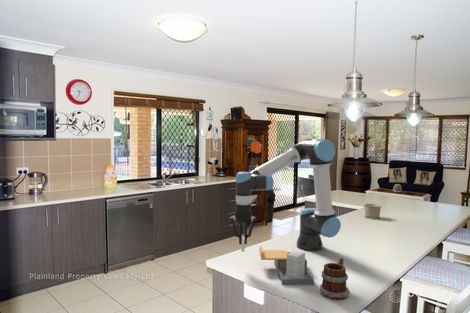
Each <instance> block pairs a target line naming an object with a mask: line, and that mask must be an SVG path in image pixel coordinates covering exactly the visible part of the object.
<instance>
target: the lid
mask: <svg viewBox="0 0 470 313" xmlns="http://www.w3.org/2000/svg"><path fill="white" fill-rule="evenodd" d="M287 252H288V251H287V250H286V249H263V246H262V245H261V246H259V249H258V253H259V257H260V260H261V261H274V260H287V254H288V253H287Z"/></svg>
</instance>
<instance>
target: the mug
mask: <svg viewBox="0 0 470 313" xmlns="http://www.w3.org/2000/svg"><path fill="white" fill-rule="evenodd" d="M338 260H339V261H338V262H328V263H325V264H324V265H323V270H322V271H321V277H322V282H321V283H320V286H319V291H320V294H321V295H322V297H324V298H326V299H328V300H329V299H330V301H343V300H345V299H347V298H348V295H349V293H350V290H349V288H348V287H347V280H348V278H349V276H348V274H347V270H346V269H347V268H346V267H345V266H344V258H341V257H340V258H339V259H338Z"/></svg>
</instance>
